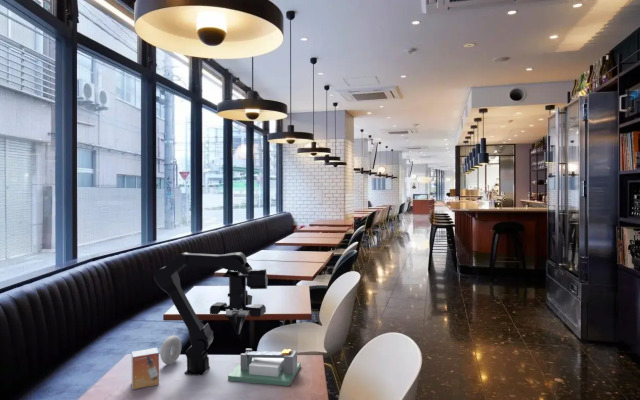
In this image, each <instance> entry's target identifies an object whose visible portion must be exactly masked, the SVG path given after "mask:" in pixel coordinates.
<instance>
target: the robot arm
mask: <svg viewBox="0 0 640 400" xmlns="http://www.w3.org/2000/svg"><path fill="white" fill-rule="evenodd" d="M186 266H202V267H204V266H205V267H217V268H218V267H219V268H222V269H225V270H226V272H225V273H224V274H223V275H222V277H223V278H228V293H227V297H228V298H229V299H228V300H229V302H228V303H229V304H227V302H219V301H218V302H216V303H213V304H212V305H211V306H210V307H209V314H210V315H219V313H221V312H225V315H224V316H225V318H227V320H229V322H230V324H231V325H232V328H233V330H234V332H235V334H236V335H240V334H241V330H242V327H243V324H244V322H245V320H246V318H247V317H249V316H250V317H255V318H256V317H257V318H258V317H259V318H260V317H262V316H263V315H264V314H265V313H267V312H266V311H267V309H266V305H265V304H263V303H261V304H260V303H258V304H257V303H255V304H253V305H252V303H253V295H250V294H248V290H247V287H248V288H249V289H250V290H267V289H268V283H269V281H268V280H269V279H268V274H267V269H266V268H262V269H253V268H252V266H251V264H249V262H248V259H247V256H246V255H245V254H244V253H243V252H241V251H239V252H238V251H237V252H236V251H235V252H230V253H225V254H213V253H212V254H211V253H195V252H194V253H192V252H187V251H186V252H185V251H183V252H182V253H180V254H178V255H177V256H176V258H174V259H173V260H172V261H170V262H169V263H168V264H166V265H165V266H163V267H160V268H158V269H157V270H156V271H155V273H154V275H153V278H154V281H155V283H156V284H157V285H158V287H159V288H160V289H161V290H162V291H164V292H165V293H167V295H168V296H169V297H170V300H171V301H172V303H173V305H174V307H175V309H176V310H177V312H178V314H179V316H180V318H181V319H182V321H183V323H184V325H185V326H186V328H187V332H188V337H189V338H188V339H189V342H190V346H189V347H188V348H187V350H185V352H184V354H185V357H186V371H184V374H185V375H193V376H203V375H204V374H205V373H207V372H208V371H209V370H210V369H211V366H210V357H209V356H208V355H209V354H208V352H207V350H208V348H210V346H211V344H212V343H213V340H214V331H213V330H212V329H211V326H210V324H209V322H207V323H206V324H204V323H203V322H201V321H200V319H199V317H198V315H197V314H196V312H195V310H194V308H193V306H192V305H191V303H190V301H189V299H188V298H187V296H186V294H185V292H184V290H183V288H182V286H181V279H180V276H179V272H180V271H181V270H182V269H183V268H184V267H186ZM250 305H251V306H250Z"/></svg>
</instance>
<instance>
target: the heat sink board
mask: <svg viewBox="0 0 640 400" xmlns="http://www.w3.org/2000/svg"><path fill="white" fill-rule="evenodd" d="M290 350H291V352H292V354H291V356H289V355H285V356H284V358H247V354H244V353H245V352H246V351H253V348H245V352H244V353H243V352H242V353H240V363H239V364H238V365H237V366H236V367H235V368H234V369H233V370H232V371H231V372H230V373H229V374H228V375H227V381H231V382H242V383H243V382H244V383H252V384H264V385H265V384H266V385H275V386H287V387H290V385H291V383H292V382H293V380H294V379H295V376H296V375H297V373H299V370H300V369H301V366H302V365H301V363H302V362H298V350H294V349H293V350H292V349H290Z"/></svg>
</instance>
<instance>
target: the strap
mask: <svg viewBox="0 0 640 400" xmlns="http://www.w3.org/2000/svg"><path fill="white" fill-rule="evenodd" d="M291 350H292V349H290V348H289V349H283V350H282V351H260V350H259V351H258V350H257V351H254V350H252V351H246V350H245V352H244V354H247V358H252V359H255V358H284V356H285V355H289V356H291V354H292V352H291Z"/></svg>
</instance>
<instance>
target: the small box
mask: <svg viewBox="0 0 640 400" xmlns="http://www.w3.org/2000/svg"><path fill="white" fill-rule="evenodd" d="M158 385H160V353H159V349H158V347H153V348H147V349H142V350H134V351H131V387H132V390H137V389H141V388H147V387H153V386H158Z"/></svg>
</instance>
